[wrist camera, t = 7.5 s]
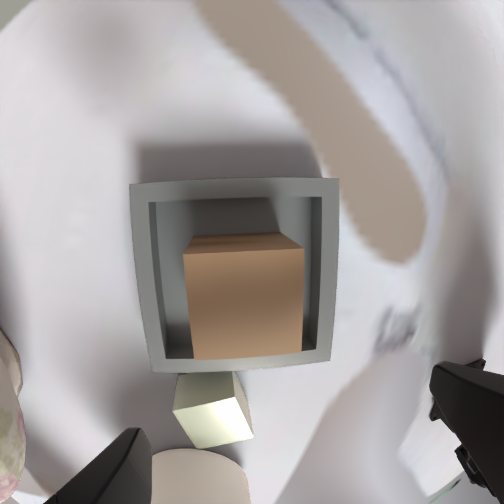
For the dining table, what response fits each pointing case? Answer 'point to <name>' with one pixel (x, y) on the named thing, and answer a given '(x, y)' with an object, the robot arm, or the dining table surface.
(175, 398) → the sage cube
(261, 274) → the walnut cube
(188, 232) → the tray
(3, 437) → the ceramic pitcher
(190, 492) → the cup
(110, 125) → the dining table surface
